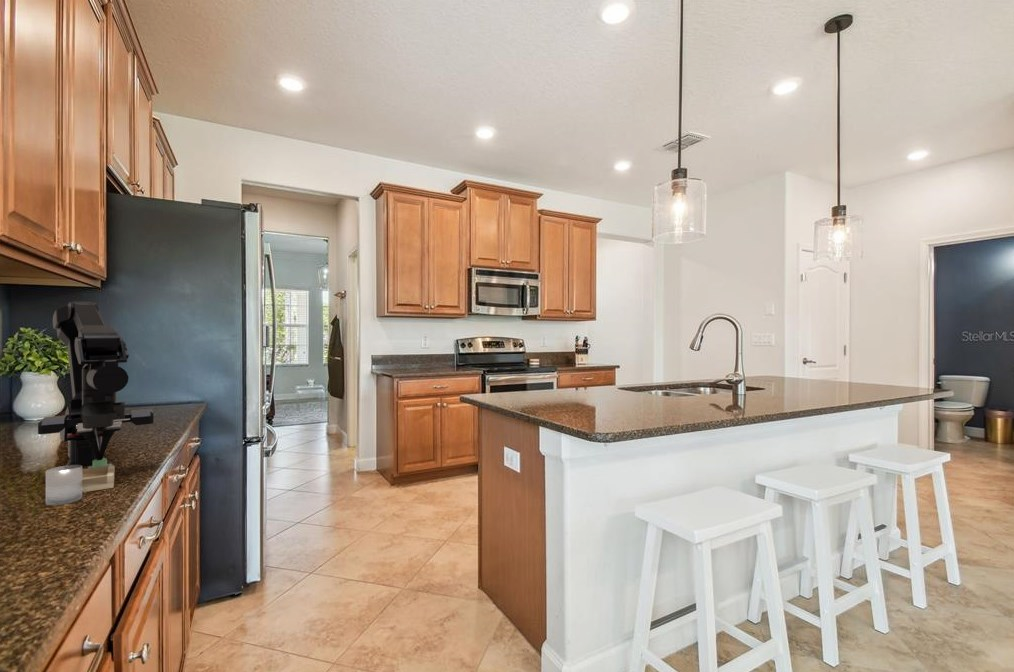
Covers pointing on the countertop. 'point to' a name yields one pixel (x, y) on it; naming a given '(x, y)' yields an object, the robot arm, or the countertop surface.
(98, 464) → the button
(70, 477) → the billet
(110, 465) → the button housing
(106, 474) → the pallet
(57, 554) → the countertop surface
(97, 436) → the robot arm
